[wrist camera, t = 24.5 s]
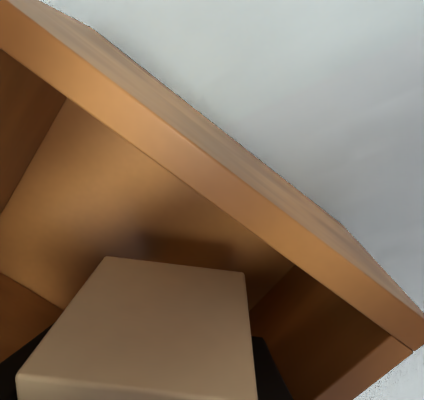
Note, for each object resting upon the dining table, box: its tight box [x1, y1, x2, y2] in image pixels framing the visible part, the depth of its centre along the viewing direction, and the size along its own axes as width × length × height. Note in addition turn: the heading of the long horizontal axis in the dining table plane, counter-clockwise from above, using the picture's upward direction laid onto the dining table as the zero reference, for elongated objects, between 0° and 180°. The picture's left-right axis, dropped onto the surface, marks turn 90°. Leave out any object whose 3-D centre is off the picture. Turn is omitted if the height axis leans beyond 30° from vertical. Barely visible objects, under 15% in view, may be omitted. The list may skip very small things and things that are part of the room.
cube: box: [15, 256, 258, 400], centre depth 8 cm, size 4×4×4 cm
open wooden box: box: [0, 0, 424, 400], centre depth 11 cm, size 13×12×6 cm
